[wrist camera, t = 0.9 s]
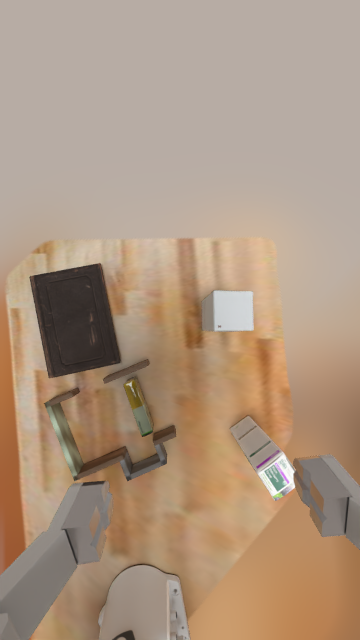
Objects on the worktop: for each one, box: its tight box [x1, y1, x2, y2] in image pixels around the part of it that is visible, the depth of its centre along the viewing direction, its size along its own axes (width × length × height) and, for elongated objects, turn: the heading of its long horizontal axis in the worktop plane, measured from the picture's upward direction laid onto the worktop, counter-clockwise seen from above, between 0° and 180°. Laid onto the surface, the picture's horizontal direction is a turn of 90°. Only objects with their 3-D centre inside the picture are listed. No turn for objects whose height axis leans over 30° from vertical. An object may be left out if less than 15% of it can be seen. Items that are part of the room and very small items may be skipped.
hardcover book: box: [30, 263, 120, 378], centre depth 45 cm, size 16×23×2 cm
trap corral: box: [44, 359, 176, 481], centre depth 43 cm, size 22×23×3 cm
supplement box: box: [202, 290, 253, 332], centre depth 41 cm, size 7×7×13 cm
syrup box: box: [230, 416, 295, 501], centre depth 39 cm, size 6×6×14 cm
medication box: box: [123, 377, 154, 437], centre depth 44 cm, size 12×3×4 cm, turn 20°
